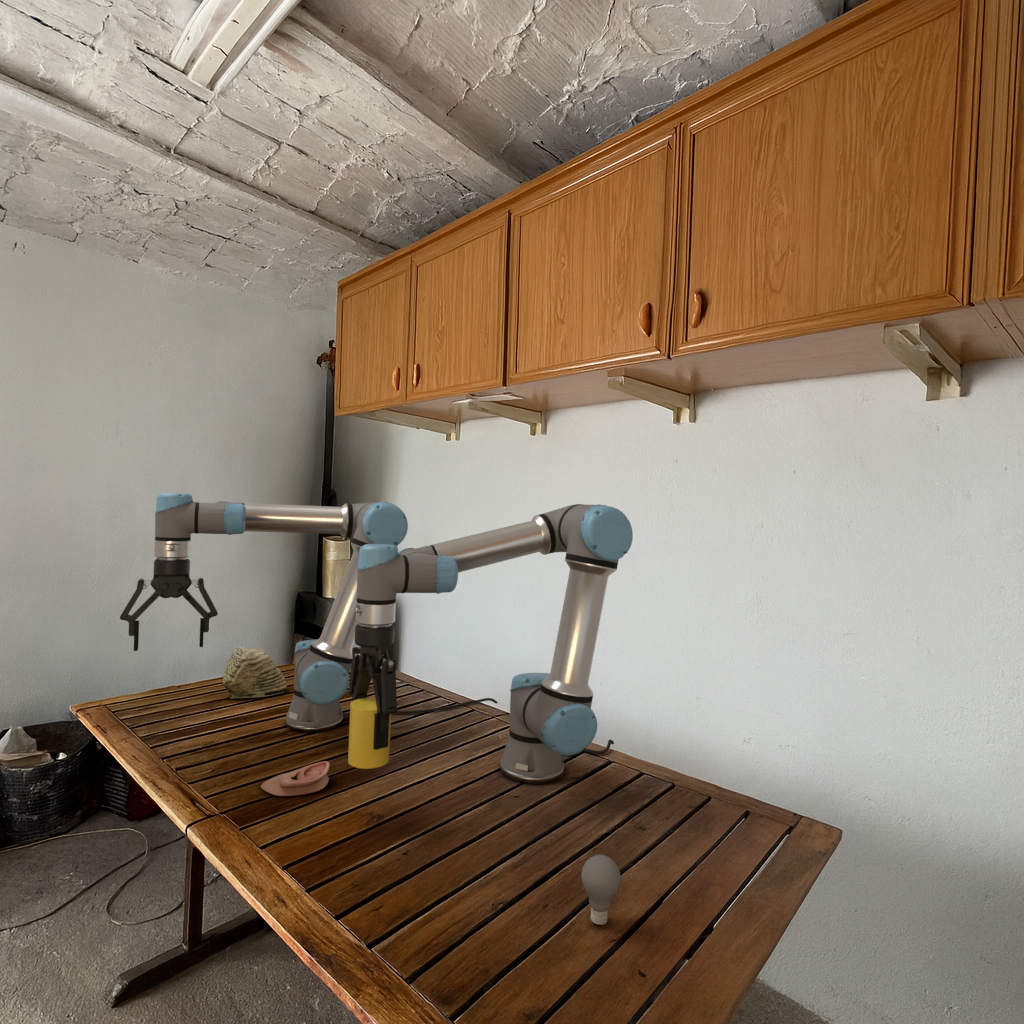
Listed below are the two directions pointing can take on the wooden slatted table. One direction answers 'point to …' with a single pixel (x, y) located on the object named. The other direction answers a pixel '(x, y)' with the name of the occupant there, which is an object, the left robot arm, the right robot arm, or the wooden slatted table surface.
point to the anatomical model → (299, 780)
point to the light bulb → (600, 885)
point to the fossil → (252, 674)
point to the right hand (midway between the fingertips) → (369, 740)
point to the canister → (365, 736)
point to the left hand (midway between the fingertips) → (169, 647)
